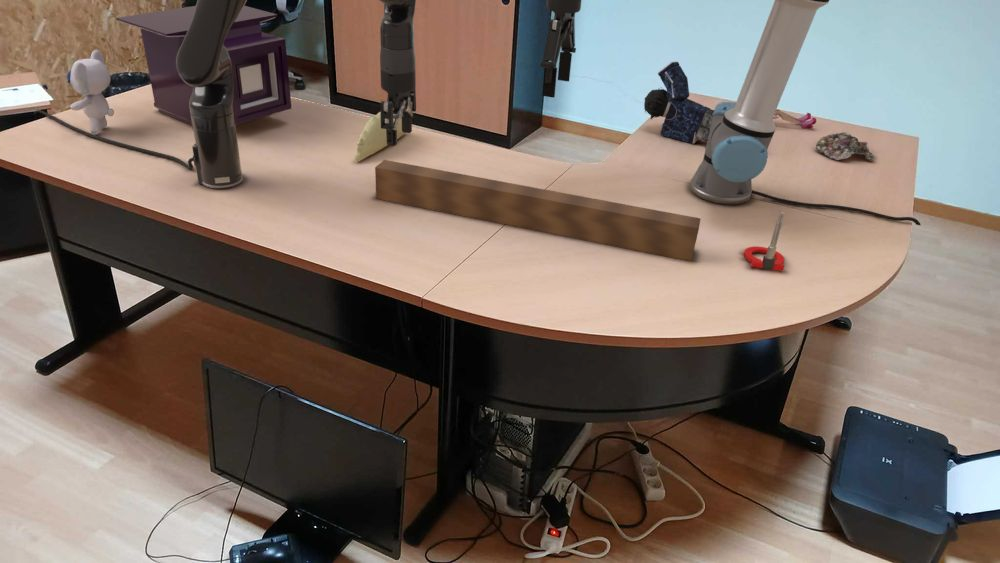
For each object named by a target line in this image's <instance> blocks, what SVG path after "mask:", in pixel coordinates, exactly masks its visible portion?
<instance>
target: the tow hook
mask: <svg viewBox="0 0 1000 563" xmlns="http://www.w3.org/2000/svg"><path fill="white" fill-rule="evenodd" d="M784 216H785V213H784V212H780V213H779V215H778V220H777V221H776V222H775V226H774V228H773V229H774V230H773V234H772V237H771V240H770V244H769V245H768V247H764V246H749V247H747V248H745V249H744V252H743V256H744V258H745V259H746V260H747V261H749V262H750V267H752V268H758V269H762V270H770V271H772V270H774V271H780V272H781V271H782V272H783V271H784V269H785V264H784V263H785V257H784V255H782V254H781V252H778V251H777V244H778V240H779V237H780V233H781V230H782V227H783V219H784ZM754 253H761V254H762V253H763V254H765V255H763V257H762V259H760V258H758V257H755V256H754V255H753V254H754Z"/></svg>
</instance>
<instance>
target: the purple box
mask: <svg viewBox="0 0 1000 563" xmlns="http://www.w3.org/2000/svg"><path fill="white" fill-rule="evenodd" d="M195 8H196V5H193V6H185V7H180V8H173V9H165V10H159V11H152V12H145V13H140V14H132V15H125V16H119V17H115V20H116V21H118V22H120V23H124V24H126V25H130V26H133V27H135V28H139V29H140V34H141V39H142V43H143V49H144V55H145V59H146V60H145V61H146V65H147V70H148V75H149V79H150V85H151V90H152V95H153V101H154V102H153V107H154V108H156V109H157V110H158V112H159V113H162V114H164V115H166V116H169V117H172V118H173V119H176V120H179V121H181V122H184V123H186V124H189V125H190V126H192V120H191V114H190V108H189V100H190V98H191V95H192V92H193V87H192V86H190V85H188V84H186V83H185V82H184V81H183V80H182V78H181V77H180V75H179V73H178V71H177V67H176V57H177V54H178V51H179V49H180V47H181V45H182V42H183V40H184V38H185V36H186V33H187V31H188V29H189V27H190V24H191V22H192V19H193V16H194V12H195ZM277 17H278V14H277V13H273V12H269V11H265V10H262V9H258V8H256V7H255V8H254V7H250V6H247V5H244V7H243V8H242V10H241V12H240V13H239V15H238V17H237V18H236V20H235V21H234V23H233V24H232V26H231V28H230V29H229V31H228V33H227V35H226V38H225V41H224V44H223V45H224V46H225V48H226V49H227V51H228V53H229V56H230V60H231V65H232V74H233V85H234V99H233V113H234V120H235V126H238V125H240V124H244V123H247V122H250V121H254V120H257V119H261V118H264V117H267V116H271V115H275V114H277V113H281V112H284V111H289V110H291V109H293V107H292V97H291V88H290V74H289V64H288V55H287V45H286V44H287V42H286V38H284V37H280V36H277V35H274V34H270V33H267V32H263V31H262V25H261V23H264V22H268V21H270V20H274V19H276V18H277Z"/></svg>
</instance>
